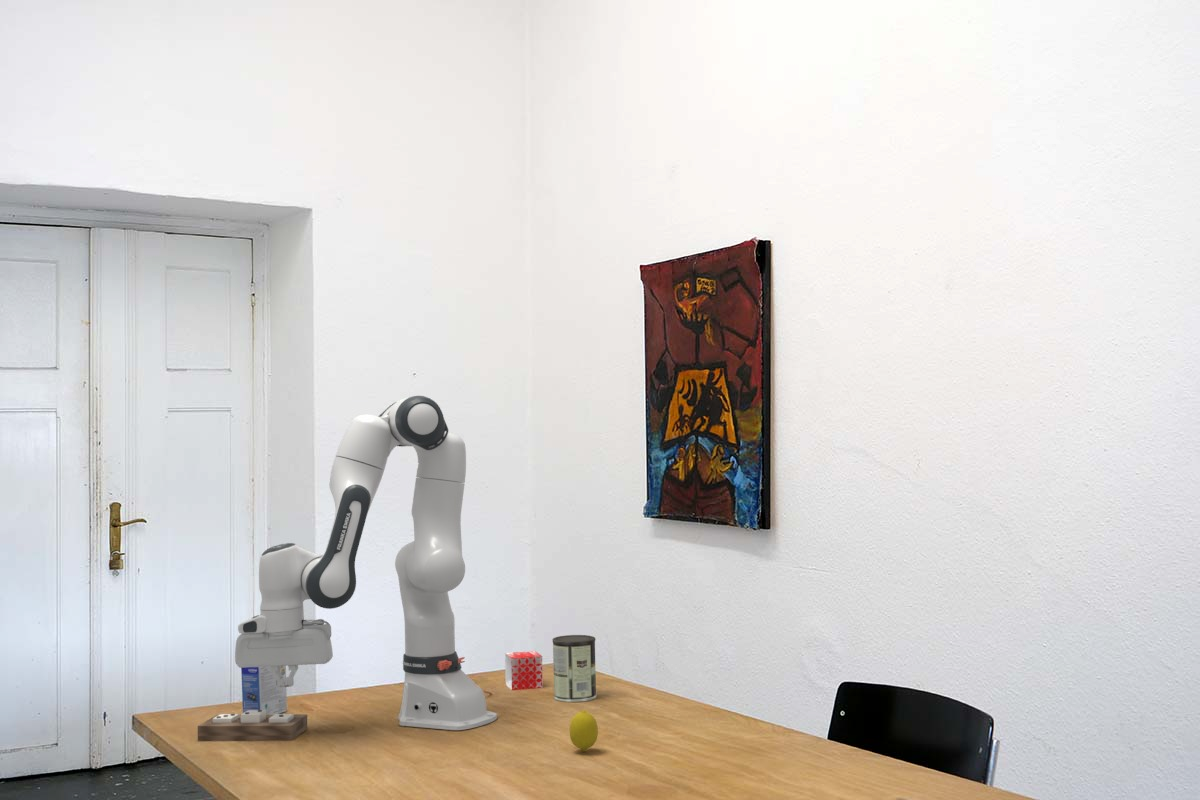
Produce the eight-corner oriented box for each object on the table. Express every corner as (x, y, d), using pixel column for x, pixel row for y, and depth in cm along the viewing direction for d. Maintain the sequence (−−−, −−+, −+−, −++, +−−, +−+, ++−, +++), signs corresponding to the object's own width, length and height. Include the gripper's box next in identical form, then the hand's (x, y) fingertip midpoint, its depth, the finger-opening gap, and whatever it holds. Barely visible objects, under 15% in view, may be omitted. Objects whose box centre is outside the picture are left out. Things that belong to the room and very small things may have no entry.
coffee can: (573, 691, 274) (572, 633, 274) (605, 696, 267) (604, 637, 268) (544, 698, 266) (543, 639, 267) (576, 704, 259) (575, 643, 260)
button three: (238, 725, 239) (238, 713, 239) (231, 730, 235) (231, 717, 235) (220, 725, 239) (220, 713, 239) (212, 730, 235) (212, 717, 235)
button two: (266, 721, 239) (266, 709, 239) (259, 726, 235) (259, 713, 235) (247, 721, 239) (247, 709, 239) (240, 726, 235) (240, 713, 235)
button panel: (307, 728, 241) (307, 714, 241) (292, 740, 231) (292, 725, 231) (216, 728, 242) (216, 714, 242) (197, 740, 232) (197, 726, 232)
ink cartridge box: (268, 709, 260) (268, 647, 260) (288, 711, 258) (287, 648, 258) (240, 719, 250) (240, 654, 251) (260, 721, 248) (260, 655, 249)
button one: (293, 725, 238) (293, 713, 238) (287, 730, 234) (287, 717, 234) (275, 725, 238) (275, 713, 239) (268, 730, 235) (268, 717, 235)
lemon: (601, 749, 220) (601, 707, 220) (592, 756, 215) (591, 714, 215) (575, 747, 222) (574, 706, 222) (565, 754, 216) (565, 712, 217)
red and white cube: (542, 688, 278) (542, 656, 279) (511, 690, 276) (511, 658, 277) (535, 682, 286) (535, 650, 286) (505, 684, 284) (505, 652, 284)
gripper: (334, 616, 240) (338, 680, 240) (241, 620, 241) (244, 685, 241) (326, 621, 234) (329, 687, 233) (230, 625, 235) (233, 691, 235)
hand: (285, 686), depth 237 cm, fingers closed
